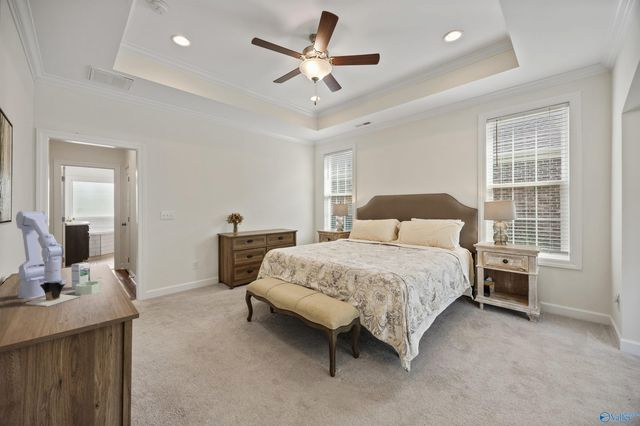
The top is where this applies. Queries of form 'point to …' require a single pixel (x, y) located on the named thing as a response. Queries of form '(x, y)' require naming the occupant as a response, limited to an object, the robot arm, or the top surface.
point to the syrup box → (80, 273)
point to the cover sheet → (51, 300)
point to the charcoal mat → (54, 304)
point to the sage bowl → (88, 288)
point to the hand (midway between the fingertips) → (52, 297)
